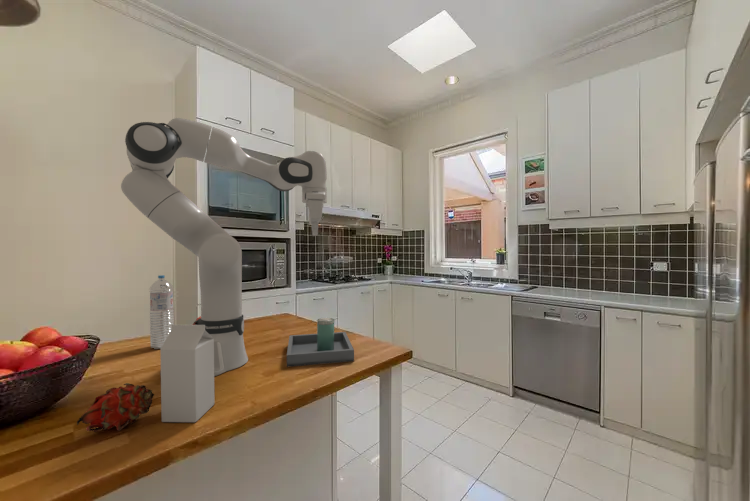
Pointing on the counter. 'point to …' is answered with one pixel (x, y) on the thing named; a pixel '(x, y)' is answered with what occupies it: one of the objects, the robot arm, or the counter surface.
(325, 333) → the green rounded cylinder
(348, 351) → the tray
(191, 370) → the milk carton
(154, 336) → the water bottle
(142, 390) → the dragon fruit
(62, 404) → the counter surface
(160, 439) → the counter surface
